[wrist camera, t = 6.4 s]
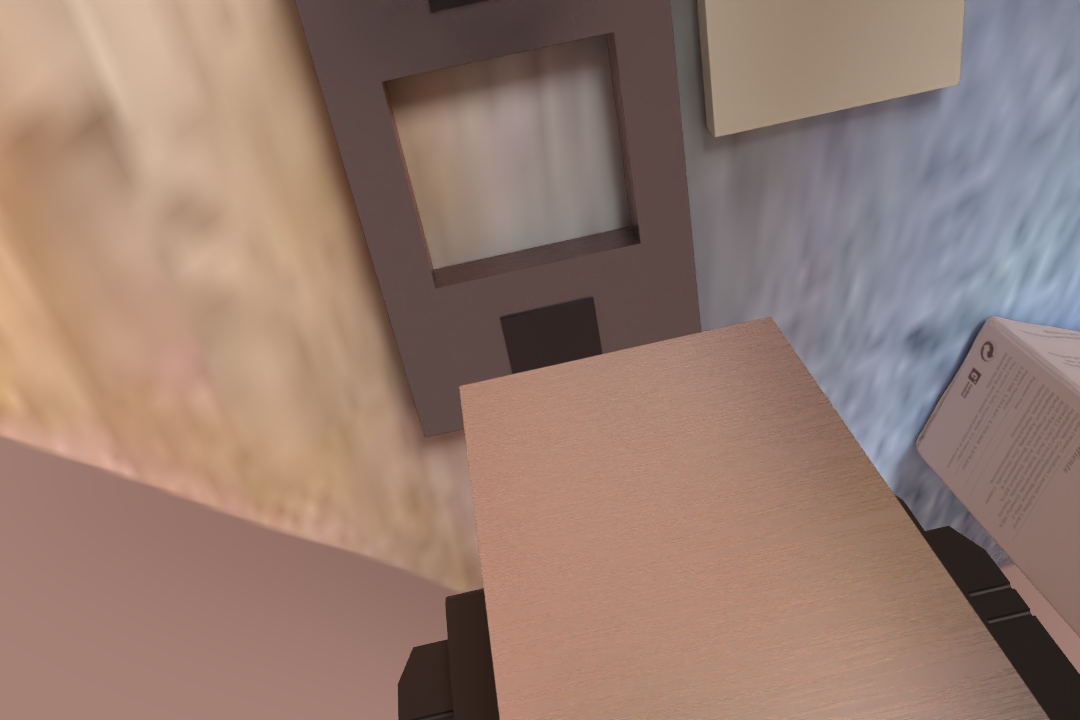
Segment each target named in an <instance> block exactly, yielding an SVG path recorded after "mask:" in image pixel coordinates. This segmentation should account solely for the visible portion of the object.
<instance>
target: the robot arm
mask: <svg viewBox="0 0 1080 720" xmlns="http://www.w3.org/2000/svg"><path fill="white" fill-rule="evenodd" d="M895 497H896V498H897V500H898V501H899V503H900V504H901V505H902V507H903V508H904V510H905V511H906V513H907V514H908V516H909V517H910V518H911V520H912V521H913V523H914V524H915V526H916V527H917V529H918V530H919V531H920V533H921V534H922V536H923V537H924V539H925V540H926V542H927V543H928V544H929V546H930V547H931V549H932V550H933V552H934V553H935V555H936V556H937V557H938V559H939V560H940V562H941V563H942V565H943V566H944V568H945V569H946V570H947V572H948V573H949V575H950V576H951V578H952V579H953V581H954V582H955V583H956V585H957V586H958V588H959V589H960V591H961V592H962V594H963V595H964V596H965V598H966V599H967V601H968V602H969V604H970V605H971V606H972V608H973V609H974V611H975V612H976V614H977V615H978V617H979V618H980V619H981V621H982V622H983V624H984V625H985V627H986V628H987V630H988V631H989V632H990V634H991V635H992V637H993V638H994V640H995V641H996V643H997V644H998V645H999V647H1000V648H1001V650H1002V651H1003V653H1004V654H1005V656H1006V657H1007V658H1008V660H1009V661H1010V663H1011V664H1012V666H1013V667H1014V669H1015V670H1016V671H1017V673H1018V674H1019V676H1020V677H1021V679H1022V680H1023V682H1024V683H1025V684H1026V686H1027V687H1028V689H1029V690H1030V692H1031V693H1032V695H1033V696H1034V697H1035V699H1036V700H1037V702H1038V703H1039V705H1040V706H1041V708H1042V709H1043V710H1044V712H1045V713H1046V715H1047V716H1048V718H1049V719H1050V720H1080V674H1079V673H1078V672H1077V670H1076V669H1075V668H1074V666H1073V665H1072V664H1071V662H1070V661H1069V660H1068V658H1067V657H1066V656H1065V654H1064V653H1063V652H1062V650H1061V649H1060V648H1059V647H1058V645H1057V644H1056V643H1055V641H1054V640H1053V639H1052V637H1051V636H1050V635H1049V633H1048V632H1047V631H1046V629H1045V628H1044V627H1043V625H1042V624H1041V623H1040V622H1039V621H1038V619H1037V618H1036V616H1032V615H1031V613H1030V608H1029V607H1028V606H1027V604H1026V603H1025V602H1024V600H1023V599H1022V598H1021V597H1020V595H1019V594H1018V593H1017V591H1016V590H1015V589H1012V588H1011V586H1010V582H1009V581H1008V579H1007V578H1006V577H1005V575H1004V574H1003V573H1002V571H1001V570H1000V569H999V567H998V566H997V565H996V564H995V562H994V561H993V560H992V558H991V557H990V556H989V554H988V553H987V552H986V550H984V549H983V548H981V547H980V546H978V545H977V544H975V543H974V542H972V541H971V540H969V539H968V538H966V537H965V536H963V535H962V534H960V533H959V532H957V531H956V530H954V529H952V528H951V527H949V526H946V527H942V528H937V529H933V530H929V531H924V529H923V528H922V526H921V525H920V524H919V522H918V521H917V519H916V518H915V516H914V515H913V514H912V512H911V511H910V509H909V508H908V506H907V505H906V504H905V503H904V501H903V500H902V499H901V498H899V497H898V496H895ZM446 619H447V632H448V640H444V641H439V642H435V643H431V644H426V645H422V646H418V647H414V648H413V650H412V652H411V654H410V657H409V659H408V662H407V664H406V666H405V669H404V671H403V673H402V676H401V678H400V681H399V683H398V716H399V720H500V717H499V709H498V700H497V692H496V684H495V676H494V668H493V659H492V651H491V643H490V635H489V627H488V618H487V610H486V602H485V594H484V588H483V589H479V590H475V591H470V592H466V593H462V594H457V595H453V596H448V597H446Z"/></svg>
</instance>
